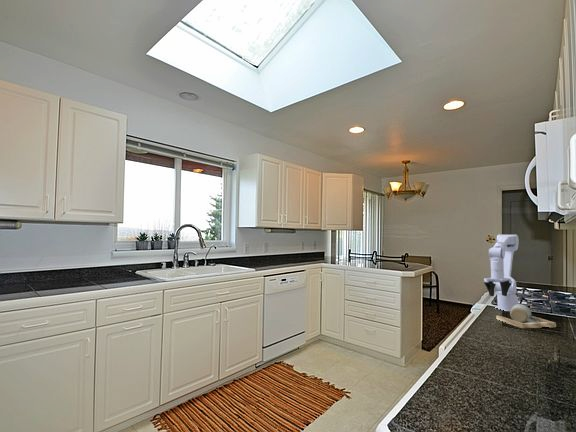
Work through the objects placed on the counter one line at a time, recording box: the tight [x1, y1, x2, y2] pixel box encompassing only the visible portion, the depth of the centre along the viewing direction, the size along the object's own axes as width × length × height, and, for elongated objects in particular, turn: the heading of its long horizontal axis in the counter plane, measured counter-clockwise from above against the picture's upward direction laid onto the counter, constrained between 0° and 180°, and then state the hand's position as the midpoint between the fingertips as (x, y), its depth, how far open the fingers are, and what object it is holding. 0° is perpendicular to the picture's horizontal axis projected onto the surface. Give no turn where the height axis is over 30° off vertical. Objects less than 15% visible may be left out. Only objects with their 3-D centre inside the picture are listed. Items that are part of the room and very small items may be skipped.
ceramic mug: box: [509, 303, 539, 323], centre depth 144 cm, size 11×8×8 cm
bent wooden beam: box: [495, 314, 557, 329], centre depth 141 cm, size 17×14×2 cm
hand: (498, 295), depth 159 cm, fingers open, 7 cm apart
